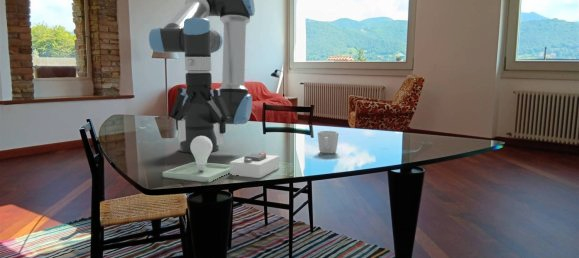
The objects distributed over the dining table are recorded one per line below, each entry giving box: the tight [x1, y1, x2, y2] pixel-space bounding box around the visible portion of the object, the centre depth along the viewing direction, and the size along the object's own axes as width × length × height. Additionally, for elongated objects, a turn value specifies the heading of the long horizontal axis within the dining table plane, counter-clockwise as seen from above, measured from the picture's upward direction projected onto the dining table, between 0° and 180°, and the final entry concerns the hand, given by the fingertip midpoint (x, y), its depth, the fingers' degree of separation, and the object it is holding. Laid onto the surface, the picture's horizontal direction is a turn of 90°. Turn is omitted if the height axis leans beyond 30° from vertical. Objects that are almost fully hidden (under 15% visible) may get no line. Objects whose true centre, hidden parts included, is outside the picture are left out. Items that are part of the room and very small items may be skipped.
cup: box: [317, 130, 339, 155], centre depth 160 cm, size 11×8×8 cm
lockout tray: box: [162, 161, 230, 183], centre depth 128 cm, size 16×16×2 cm
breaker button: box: [243, 153, 267, 161], centre depth 131 cm, size 5×5×4 cm
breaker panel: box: [229, 152, 280, 179], centre depth 131 cm, size 10×14×5 cm
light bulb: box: [190, 136, 213, 172], centre depth 128 cm, size 7×7×11 cm
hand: (200, 142), depth 128 cm, fingers open, 13 cm apart
